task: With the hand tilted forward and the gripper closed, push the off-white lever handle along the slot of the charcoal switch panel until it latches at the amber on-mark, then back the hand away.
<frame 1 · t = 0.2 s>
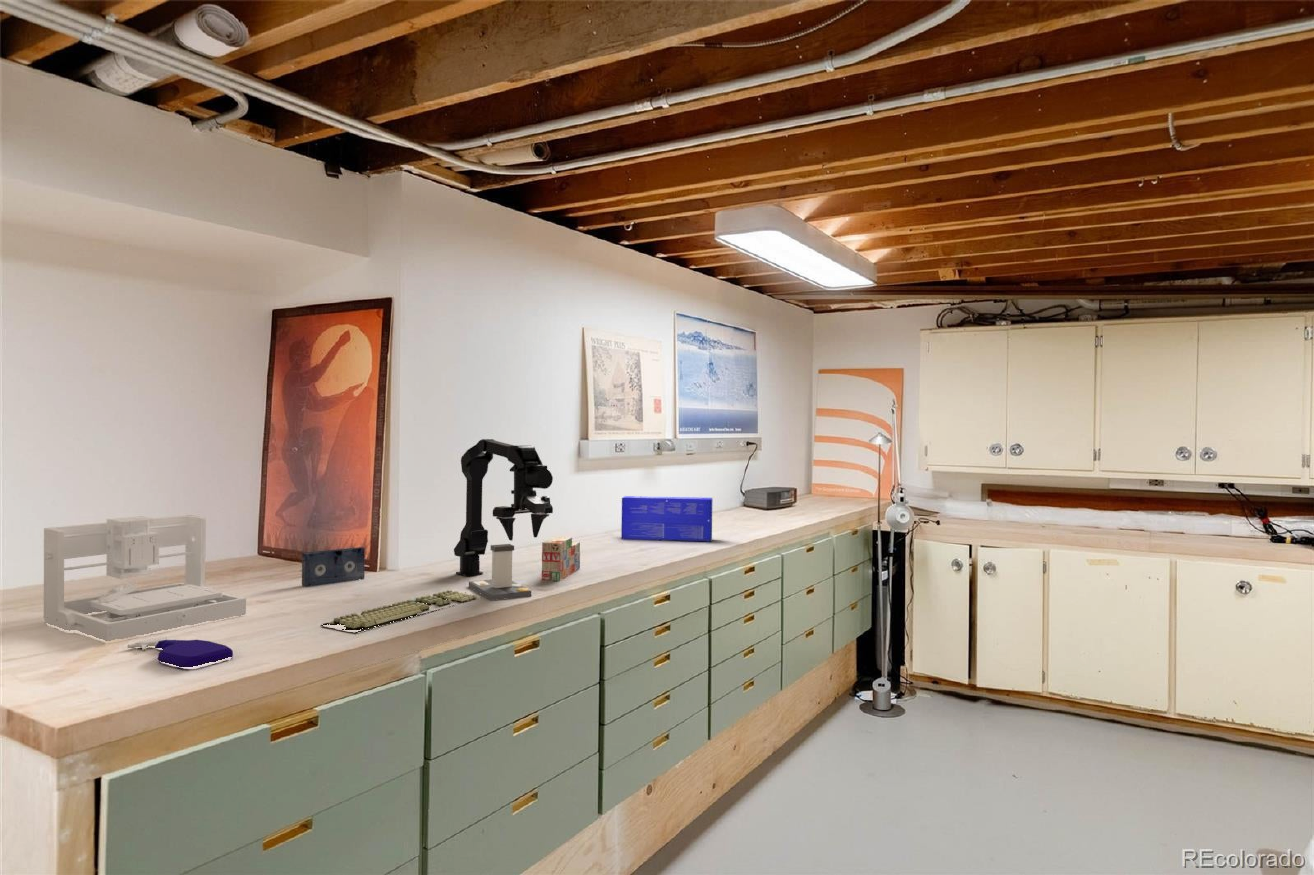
hand: (523, 538, 233), 15 cm above the worktop, tool pointing down, fingers open, 9 cm apart
stack of blocks: (561, 575, 255), on the worktop
toner cartridge box: (666, 540, 335), on the worktop
switch panel: (499, 591, 228), on the worktop
3d printer: (147, 621, 190), on the worktop
lever: (502, 565, 226), point 8 cm above the worktop, slide at 0.0 cm
keyboard: (405, 614, 204), on the worktop
dark purple flat pad: (178, 658, 163), on the worktop
vhs cassette tape: (333, 583, 236), on the worktop
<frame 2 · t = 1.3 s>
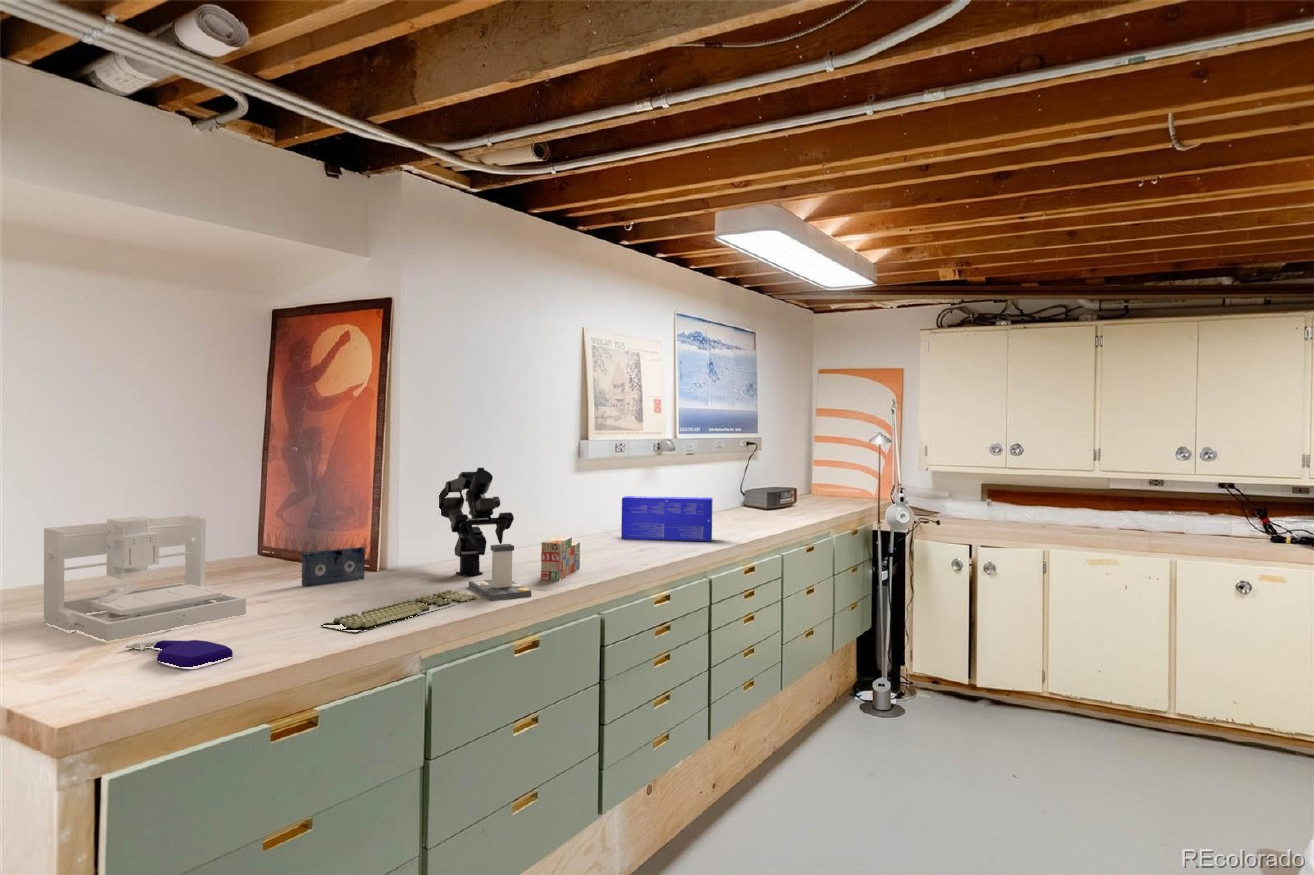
hand: (488, 544, 237), 12 cm above the worktop, tool tilted 45°, fingers open, 8 cm apart
nothing on the worktop moved.
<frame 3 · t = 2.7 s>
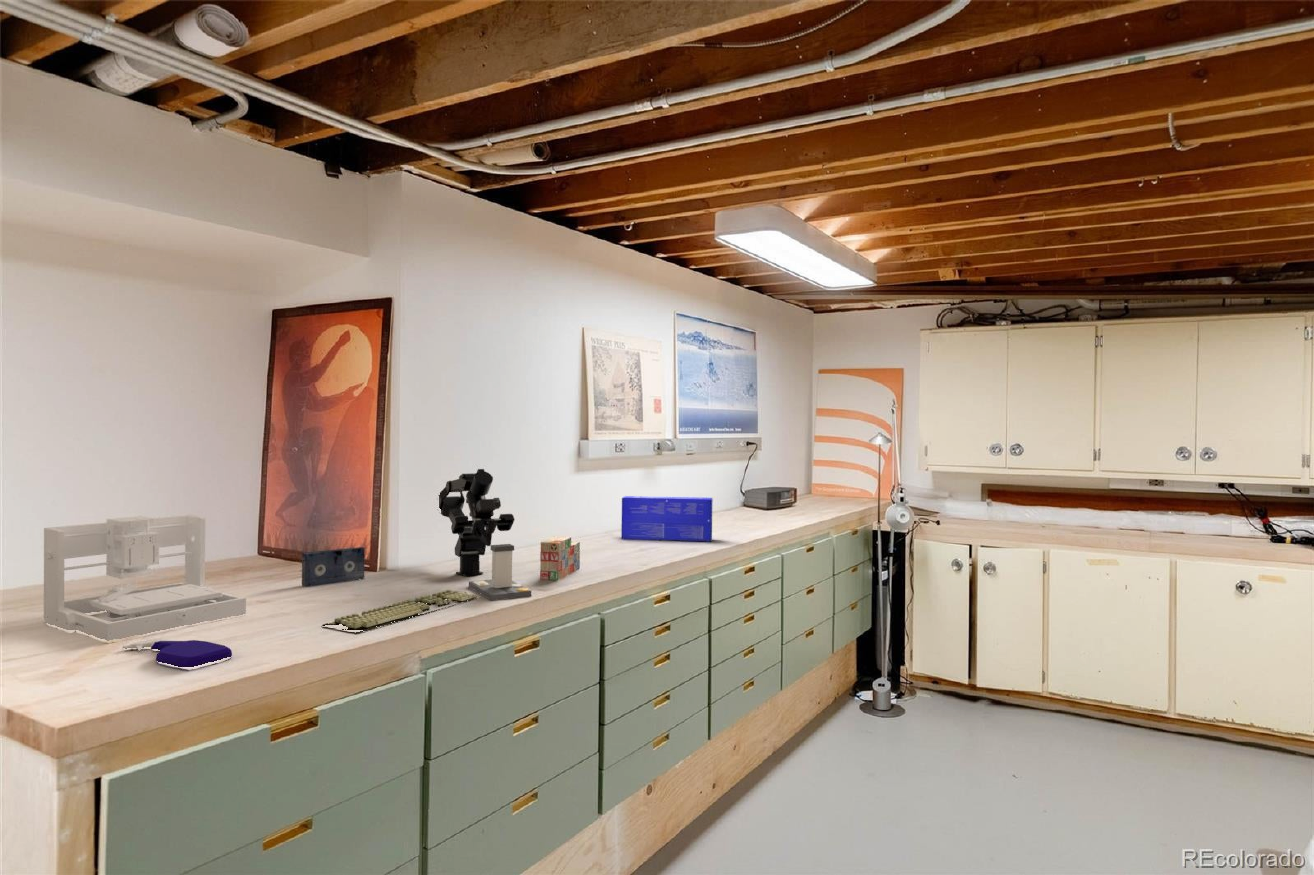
hand: (489, 545, 236), 12 cm above the worktop, tool tilted 45°, fingers closed
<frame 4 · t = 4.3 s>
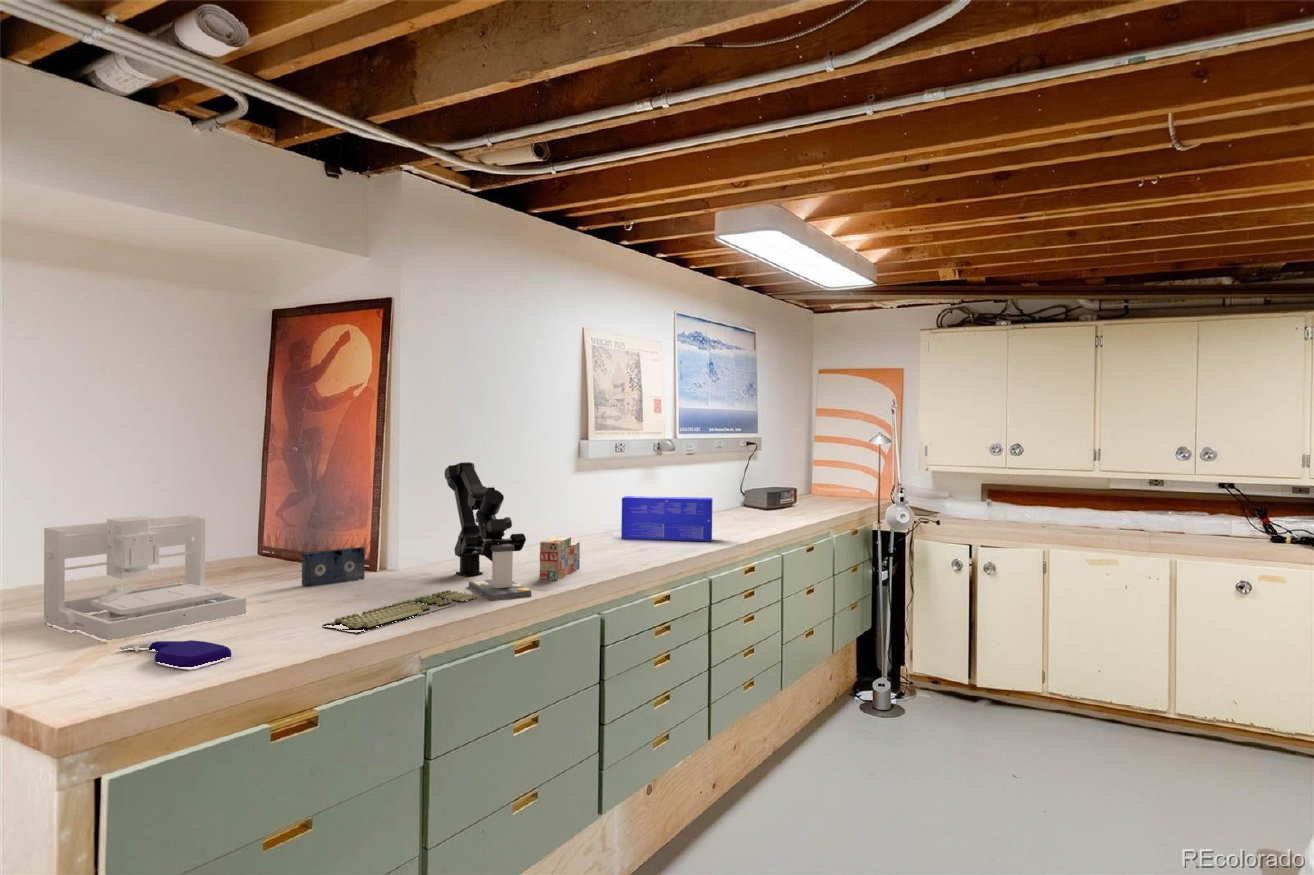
hand: (500, 567, 228), 7 cm above the worktop, tool tilted 45°, fingers closed, pressing on lever
lever: (502, 566, 226), point 8 cm above the worktop, slide at 0.3 cm, touching gripper
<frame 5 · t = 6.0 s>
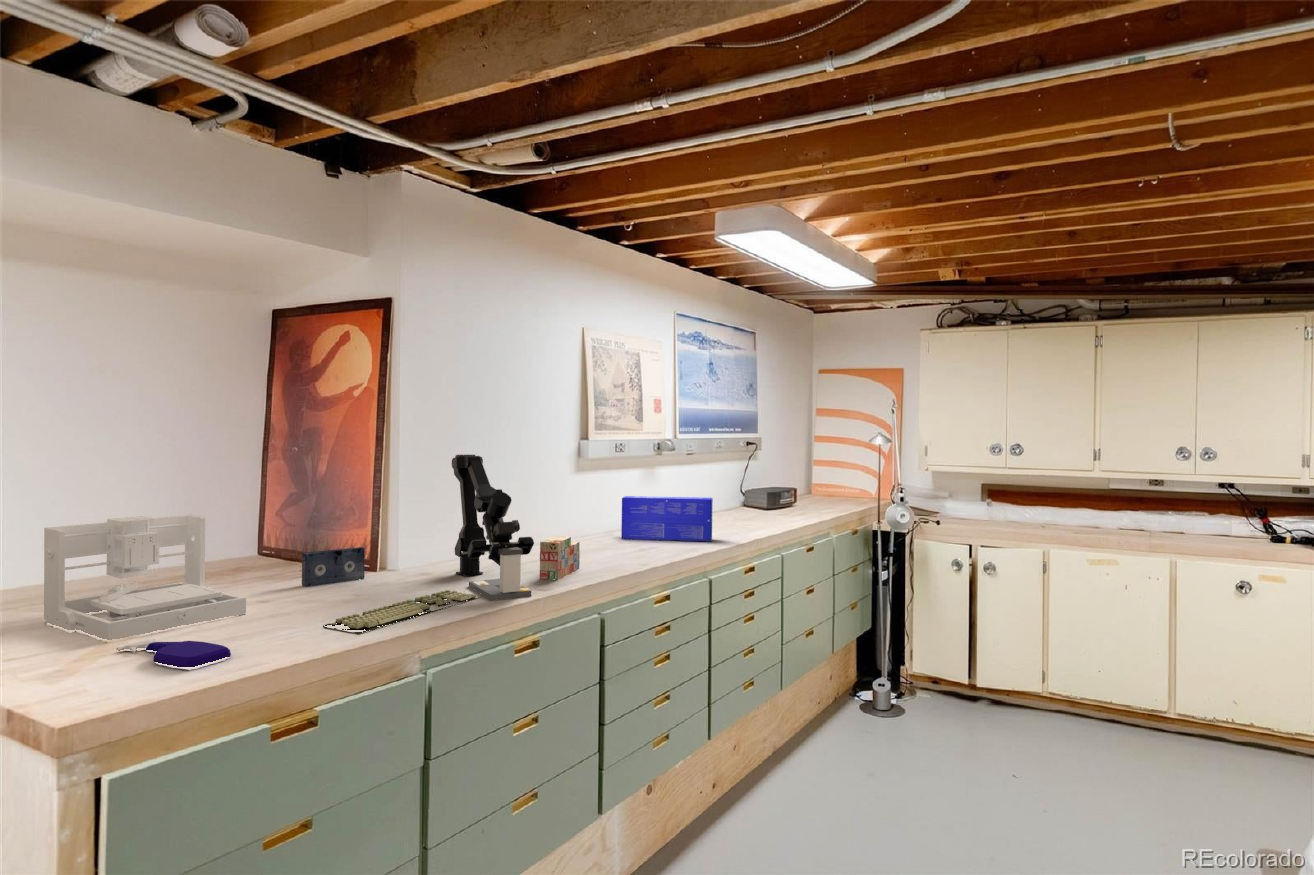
hand: (507, 571, 222), 7 cm above the worktop, tool tilted 45°, fingers closed, pressing on lever
lever: (510, 570, 221), point 8 cm above the worktop, slide at 6.7 cm, touching gripper
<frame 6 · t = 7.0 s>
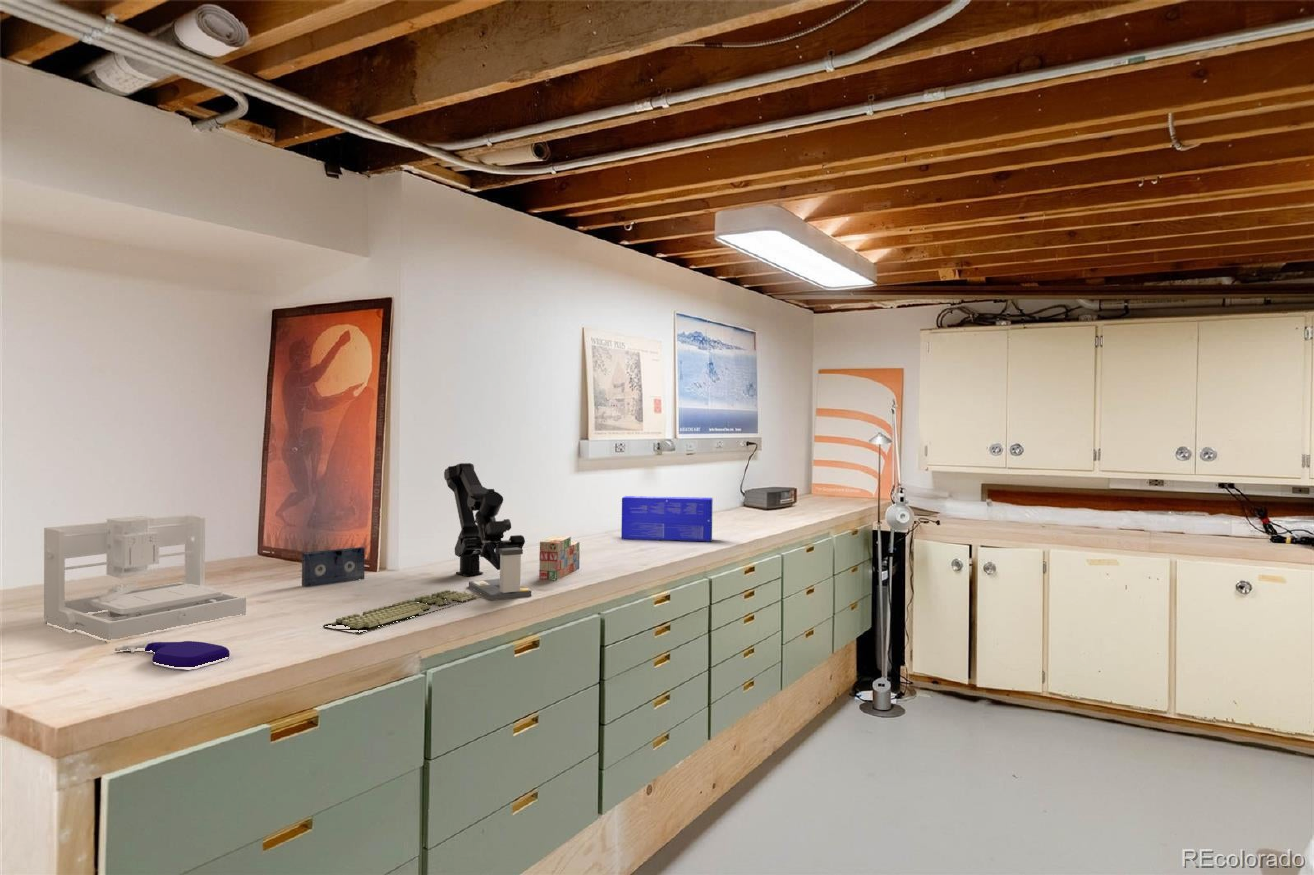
hand: (499, 569, 228), 6 cm above the worktop, tool tilted 45°, fingers closed
lever: (510, 570, 221), point 8 cm above the worktop, slide at 6.7 cm
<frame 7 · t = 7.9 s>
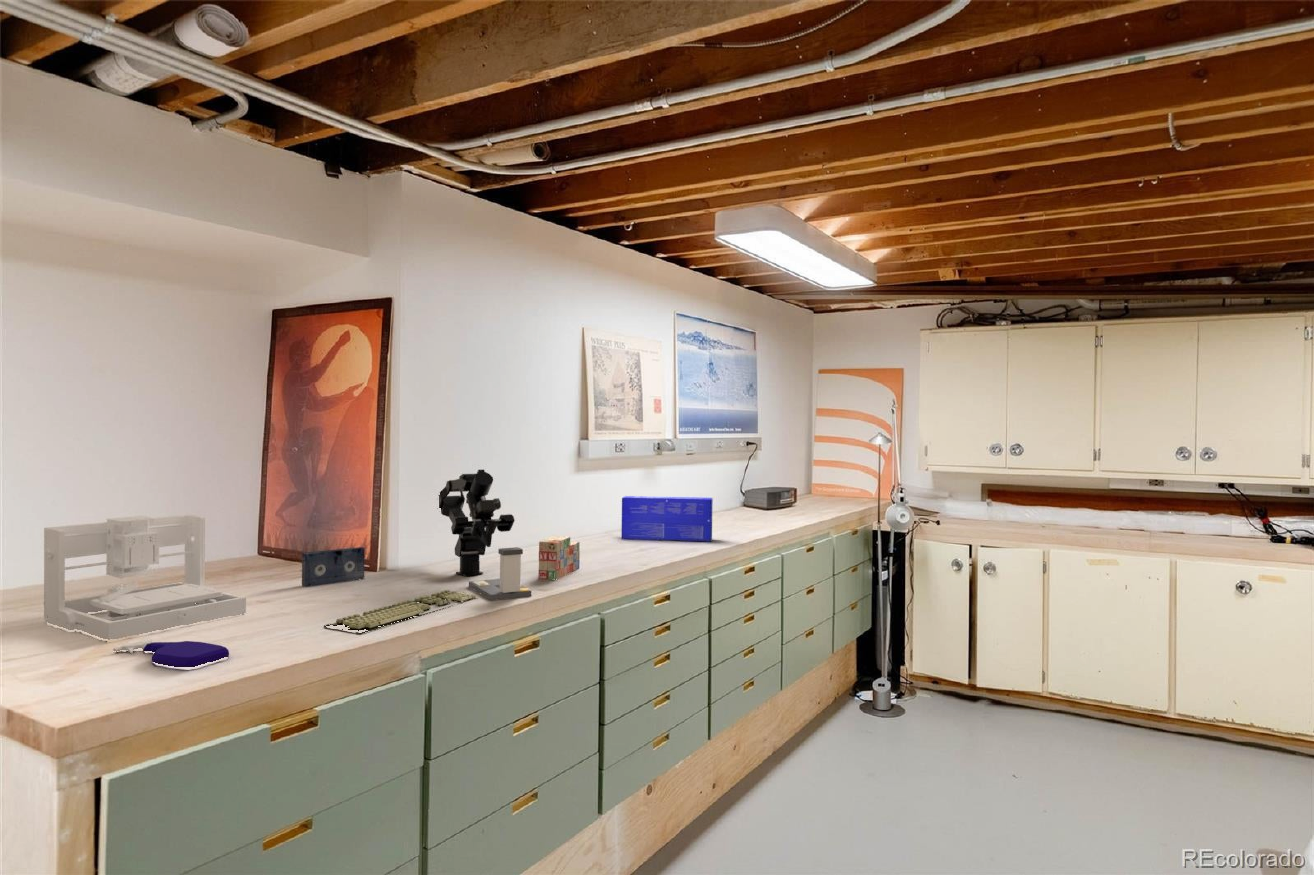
hand: (489, 546, 236), 12 cm above the worktop, tool tilted 45°, fingers closed
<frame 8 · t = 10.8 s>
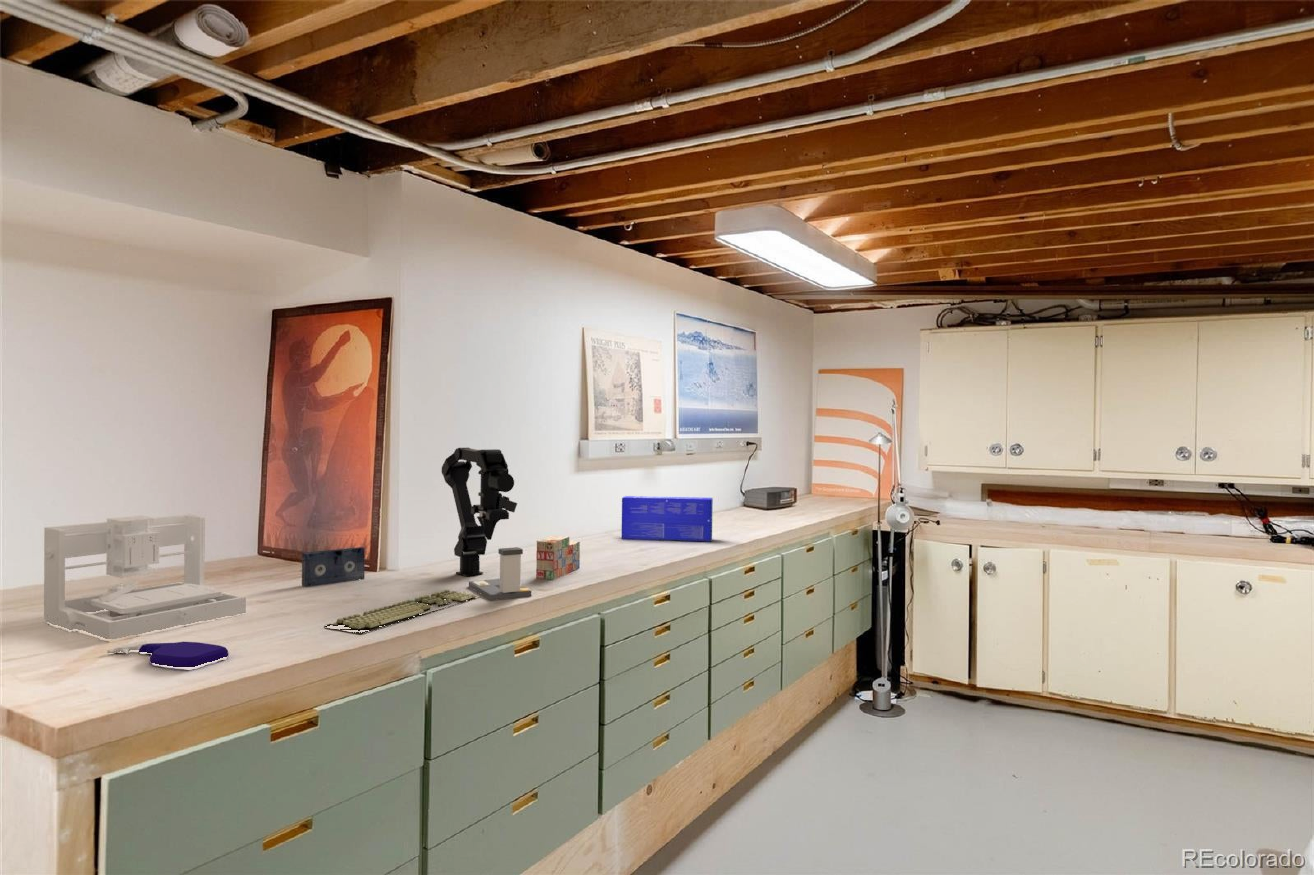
hand: (489, 539, 242), 13 cm above the worktop, tool pointing down, fingers closed
at the end: lever slide at 6.7 cm; stack of blocks moved 2.1 cm from its start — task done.
